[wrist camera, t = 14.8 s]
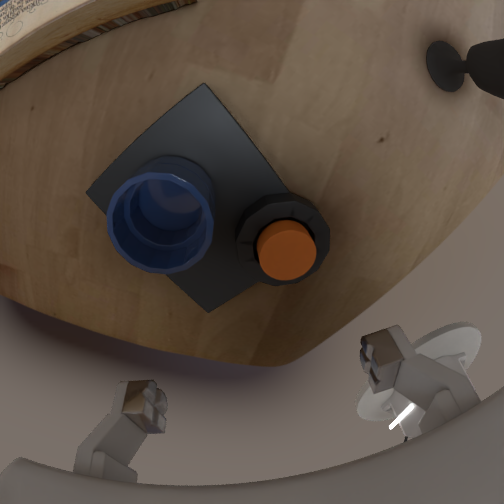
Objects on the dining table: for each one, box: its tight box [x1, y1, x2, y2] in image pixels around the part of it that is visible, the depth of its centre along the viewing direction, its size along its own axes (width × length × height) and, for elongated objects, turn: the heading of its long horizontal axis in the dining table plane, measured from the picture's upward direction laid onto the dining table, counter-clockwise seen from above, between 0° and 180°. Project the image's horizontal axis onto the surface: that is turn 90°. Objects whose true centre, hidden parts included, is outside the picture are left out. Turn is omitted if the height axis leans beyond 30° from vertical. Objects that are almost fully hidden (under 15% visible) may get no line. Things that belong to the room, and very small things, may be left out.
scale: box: [86, 83, 330, 313], centre depth 21 cm, size 16×13×3 cm
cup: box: [106, 156, 216, 274], centre depth 18 cm, size 6×6×5 cm
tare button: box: [257, 220, 316, 280], centre depth 21 cm, size 4×4×2 cm
